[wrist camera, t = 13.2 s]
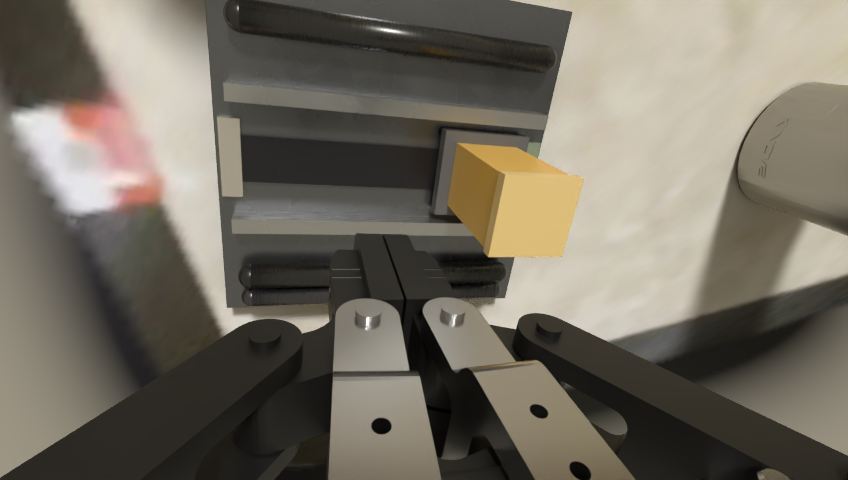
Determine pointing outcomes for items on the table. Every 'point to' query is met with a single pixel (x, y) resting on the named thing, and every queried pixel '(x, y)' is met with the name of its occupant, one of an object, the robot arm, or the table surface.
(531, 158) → the lever
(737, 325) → the table surface
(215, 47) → the panel
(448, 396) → the robot arm
